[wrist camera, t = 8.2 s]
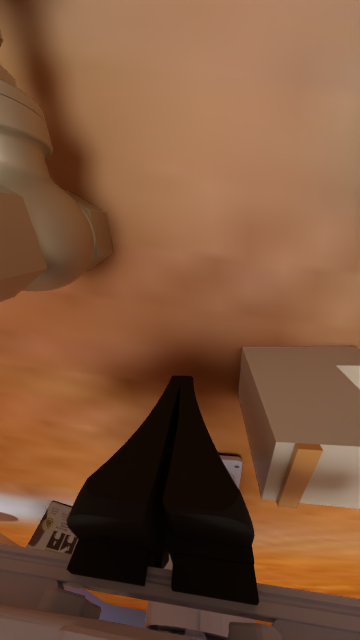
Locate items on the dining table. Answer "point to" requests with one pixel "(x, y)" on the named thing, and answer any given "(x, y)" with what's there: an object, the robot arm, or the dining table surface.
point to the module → (303, 422)
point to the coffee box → (54, 531)
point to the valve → (39, 206)
